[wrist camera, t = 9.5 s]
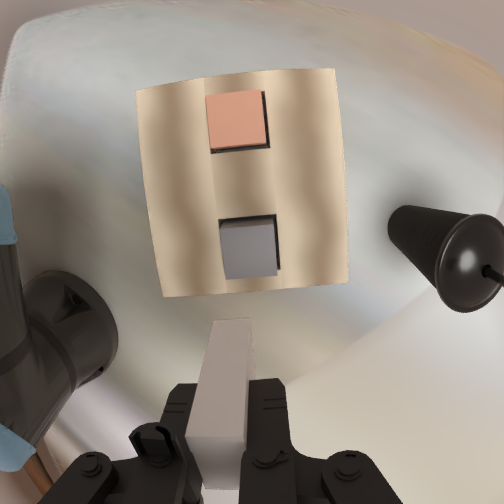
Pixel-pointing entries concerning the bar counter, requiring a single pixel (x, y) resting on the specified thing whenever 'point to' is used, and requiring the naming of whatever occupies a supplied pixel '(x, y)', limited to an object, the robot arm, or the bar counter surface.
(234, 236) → the gray block
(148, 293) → the bar counter surface
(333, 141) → the panel
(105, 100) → the bar counter surface
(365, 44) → the bar counter surface
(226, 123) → the salmon block
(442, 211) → the drinking cup
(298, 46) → the bar counter surface
